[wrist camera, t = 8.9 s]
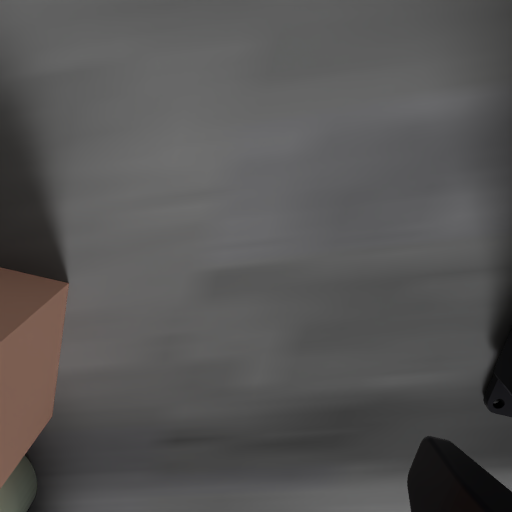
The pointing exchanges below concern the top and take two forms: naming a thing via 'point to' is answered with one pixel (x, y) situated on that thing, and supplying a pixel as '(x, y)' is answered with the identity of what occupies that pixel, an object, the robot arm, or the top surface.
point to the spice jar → (19, 488)
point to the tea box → (27, 360)
